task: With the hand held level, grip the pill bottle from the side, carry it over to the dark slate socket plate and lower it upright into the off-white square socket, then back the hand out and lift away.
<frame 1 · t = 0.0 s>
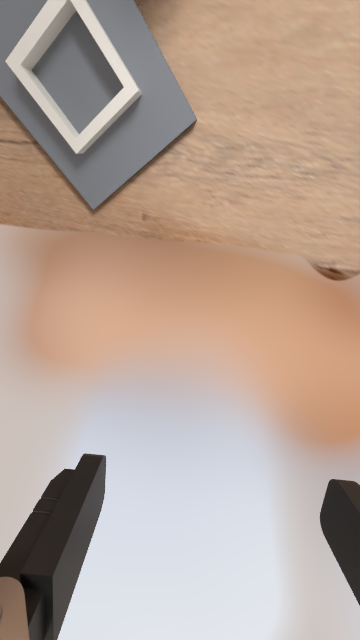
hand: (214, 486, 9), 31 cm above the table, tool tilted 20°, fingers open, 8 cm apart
socket plate: (84, 82, 27), on the table
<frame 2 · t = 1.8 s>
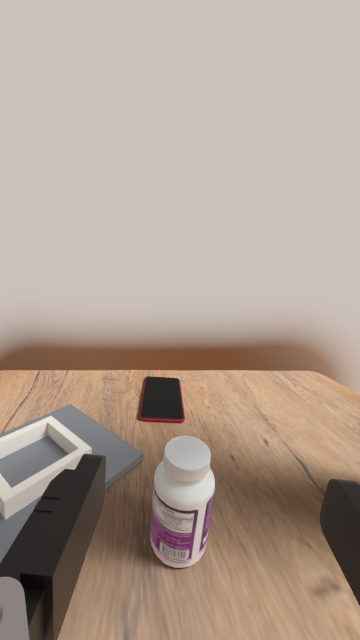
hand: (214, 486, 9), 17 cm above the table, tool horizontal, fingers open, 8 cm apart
smartphone: (161, 400, 48), on the table
socket plate: (33, 471, 29), on the table
pill bottle: (177, 539, 24), on the table
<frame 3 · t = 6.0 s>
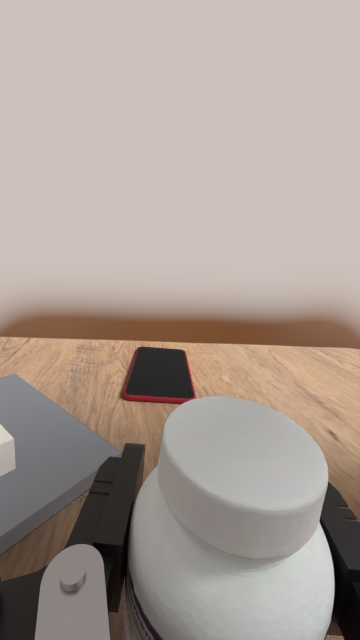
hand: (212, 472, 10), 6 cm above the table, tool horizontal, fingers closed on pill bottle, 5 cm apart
smartphone: (160, 375, 33), on the table
when the fingers open (8 cm above the table, at t = 11.7 s): pill bottle stays where it is, resting on socket plate.
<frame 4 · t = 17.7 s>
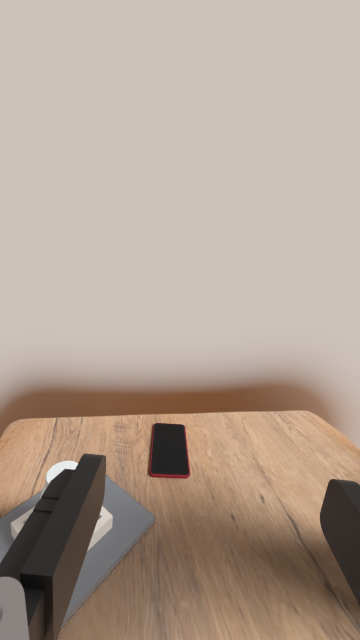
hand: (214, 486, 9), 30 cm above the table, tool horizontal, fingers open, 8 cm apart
smartphone: (169, 450, 53), on the table
socket plate: (63, 536, 35), on the table
pill bottle: (64, 533, 34), point 1 cm above the table, touching socket plate
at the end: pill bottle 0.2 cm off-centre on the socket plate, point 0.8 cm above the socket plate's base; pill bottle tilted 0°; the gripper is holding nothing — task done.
